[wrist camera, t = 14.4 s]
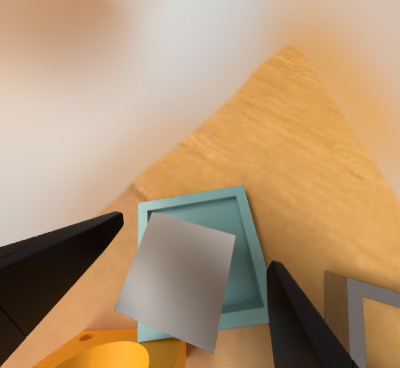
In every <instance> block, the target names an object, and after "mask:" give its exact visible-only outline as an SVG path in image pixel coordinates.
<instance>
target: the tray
mask: <svg viewBox="0 0 400 368" xmlns="http://www.w3.org/2000/svg"><path fill="white" fill-rule="evenodd" d="M152 212H155V213H159V214H162V215H166V216H169V217H173V218H176V219H180V220H183V221H187V222H190V223H194V224H197V225H200V226H204V227H207V228H211V229H214V230H218V231H221V232H225V233H228V234H232V235H235V236H236V237H235V242H234V248H233V253H232V258H231V264H230V269H229V274H228V280H227V285H226V290H225V296H224V301H223V306H222V312H221V317H220V322H219V328H218V330H224V329H231V328H238V327H244V326H251V325H258V324H264V323H269V318H268V309H267V281H266V272H267V269H266V265H265V262H264V258H263V254H262V251H261V247H260V244H259V240H258V237H257V233H256V229H255V226H254V222H253V219H252V215H251V211H250V208H249V204H248V201H247V197H246V193H245V190H244V186H243V185H242V186H236V187H230V188H224V189H218V190H212V191H207V192H201V193H195V194H189V195H183V196H177V197H171V198H165V199H159V200H154V201H148V202H142V203H138V247H139V245H140V242H141V240H142V237H143V234H144V232H145V229H146V227H147V224H148V222H149V219H150V216H151V214H152ZM171 337H173V336H171V335H169V334H166V333H164V332H162V331H159V330H157V329H155V328H153V327H150V326H148V325H146V324H143V323H141V322H139V321H138V342H144V341H151V340H157V339H164V338H171Z"/></svg>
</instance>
